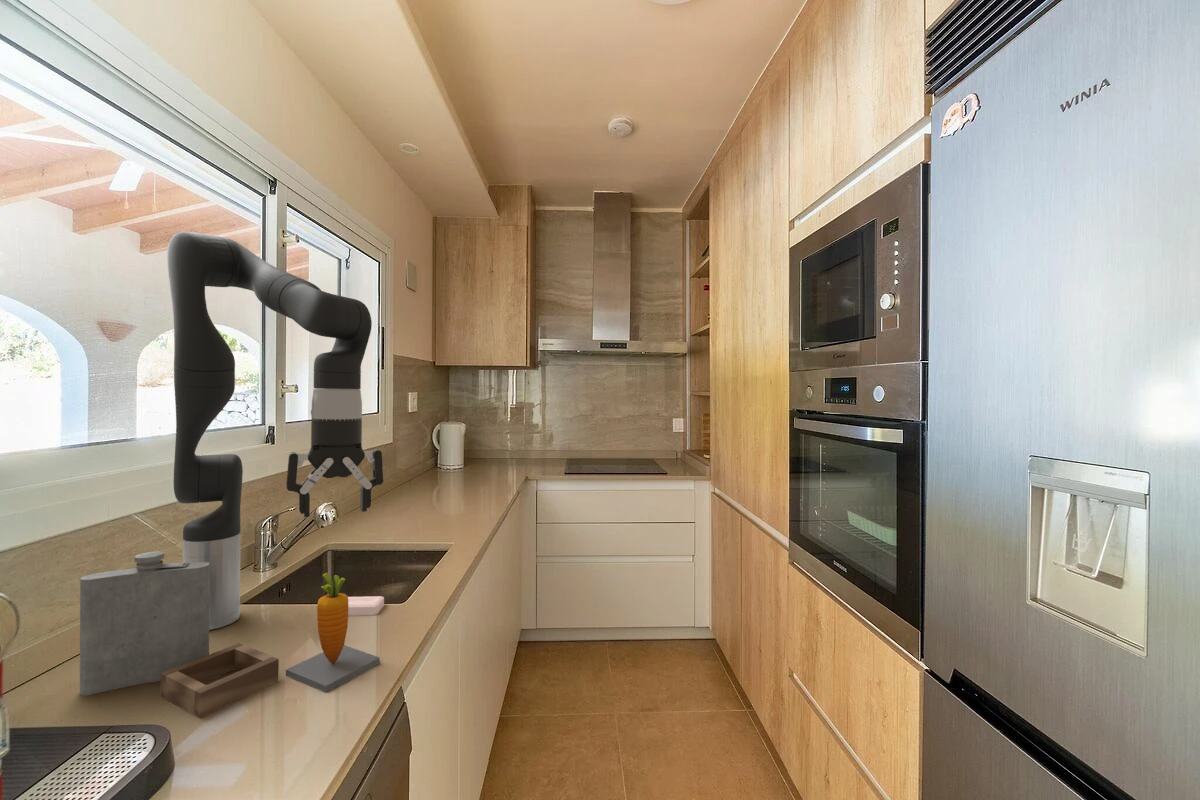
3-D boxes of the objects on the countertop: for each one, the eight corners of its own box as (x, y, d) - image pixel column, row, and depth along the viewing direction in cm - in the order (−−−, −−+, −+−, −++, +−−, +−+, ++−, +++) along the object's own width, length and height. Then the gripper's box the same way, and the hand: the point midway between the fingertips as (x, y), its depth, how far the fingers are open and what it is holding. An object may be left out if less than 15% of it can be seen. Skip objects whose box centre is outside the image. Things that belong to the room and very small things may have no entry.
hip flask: (75, 697, 78) (76, 564, 78) (87, 684, 82) (87, 556, 82) (206, 673, 86) (207, 551, 85) (211, 662, 89) (212, 544, 89)
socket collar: (160, 696, 79) (160, 673, 79) (238, 663, 89) (239, 643, 89) (200, 717, 74) (200, 693, 74) (278, 680, 84) (278, 658, 84)
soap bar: (376, 616, 109) (376, 605, 109) (330, 617, 108) (330, 606, 108) (384, 606, 114) (384, 595, 114) (341, 607, 114) (341, 596, 114)
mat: (285, 675, 85) (285, 669, 85) (340, 649, 94) (340, 643, 94) (325, 692, 81) (325, 685, 81) (379, 663, 90) (379, 657, 90)
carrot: (354, 662, 88) (354, 573, 87) (323, 674, 84) (323, 581, 84) (341, 652, 91) (341, 566, 91) (311, 664, 87) (310, 574, 87)
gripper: (288, 417, 80) (287, 523, 81) (387, 416, 88) (385, 513, 88) (286, 415, 87) (285, 513, 87) (378, 414, 94) (377, 504, 95)
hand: (335, 513), depth 88 cm, fingers open, 8 cm apart
